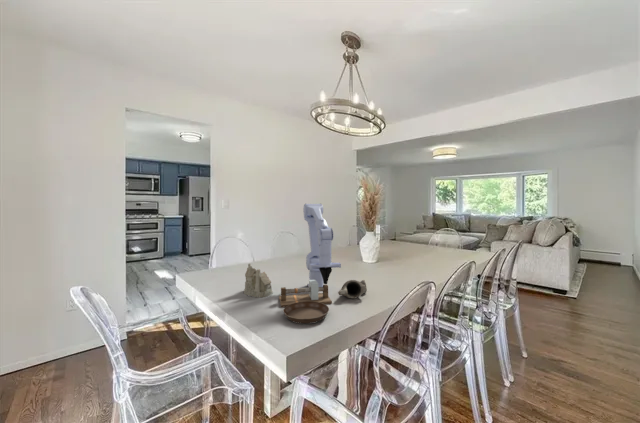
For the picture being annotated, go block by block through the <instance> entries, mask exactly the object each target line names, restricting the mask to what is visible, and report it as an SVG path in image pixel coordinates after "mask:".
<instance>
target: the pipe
mask: <svg viewBox="0 0 640 423" xmlns="http://www.w3.org/2000/svg"><path fill="white" fill-rule="evenodd" d="M367 288H368V287H367V284H366V281H365V279H363V280H360V281H359V280H356V279H349V280H347V281H346V282H345V283H343V285H342V287H341V288H340V289H339V290H338V291H337V293H338V295H339V296H344V297H346V298H349V299H357V298H359V297H360V296H362V295H364V294H365V293H367V290H368V289H367Z"/></svg>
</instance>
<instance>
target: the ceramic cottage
mask: <svg viewBox="0 0 640 423" xmlns="http://www.w3.org/2000/svg"><path fill="white" fill-rule="evenodd" d="M247 265H248V267H247V268H246V272H245V273H244V277H245V282H244V290H243V294H244V295H245V296H247V295H249V297H252V296H253V298H259V299H261V298H266V297H267V298H268V297H271V296H272V295H273V294H274V291H273V289H272V281H271V280H270V277H269V276H268V274H267V273H266V272H265V271H262V272H261V269H259V268H257V269H256V267H255V268H253V265H252V264H251V263H248V264H247Z"/></svg>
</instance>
